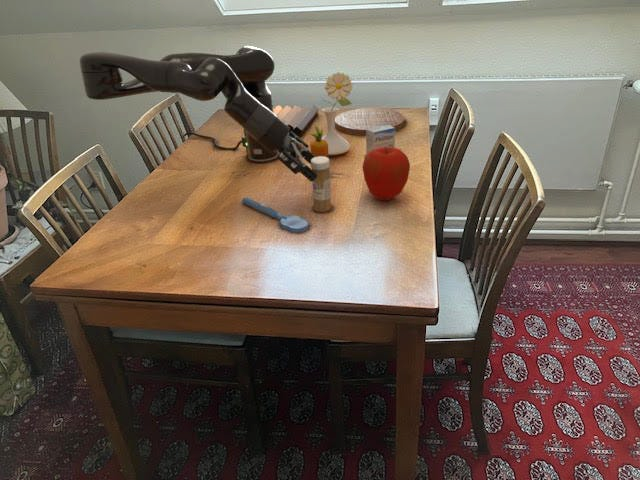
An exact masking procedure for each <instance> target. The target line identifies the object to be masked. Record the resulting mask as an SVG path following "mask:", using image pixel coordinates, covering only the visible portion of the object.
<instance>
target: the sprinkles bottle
mask: <svg viewBox="0 0 640 480" xmlns="http://www.w3.org/2000/svg"><path fill="white" fill-rule="evenodd" d="M330 166H331V164H330V158H329V157H328V158H327V157H323V156H319V157H314V158H312V159H311V164H310V169H312V170H313V171H314V172H315V173H316V174H317V178H316V179H315V180H314V181H312V197H313V210H314V211H315V212H318V213H326V212H328V211H330V210H331V209H332V206H331V204H332V203H331V202H332V201H331V177H330Z"/></svg>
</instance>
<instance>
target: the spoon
mask: <svg viewBox="0 0 640 480" xmlns="http://www.w3.org/2000/svg"><path fill="white" fill-rule="evenodd" d="M241 202H242V204H243V205H246V206H248V207H250V208H252V209H255V210H257V211H258V212H261V213H263V214H265V215H267V216H269V217H271V218H274V219H276V220H278V221H279V222H280V223H279V224H280V227H281V228H282V229H283V230H285V231H289V232H290V233H294V234H300V233H304V232H306V231H307V230H308V229H309V221H307V220H306V219H303V218H302V217H300V216H298V215H287V216H285V215H283V214H281V213H279V211H277V210H275V209H274V208H271V207H269V206H267V205H264V204H262V203H260V202H258V201H256V200H254V199H251V198H249V197H247V196H244V197H242V199H241Z"/></svg>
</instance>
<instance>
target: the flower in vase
mask: <svg viewBox="0 0 640 480" xmlns="http://www.w3.org/2000/svg"><path fill="white" fill-rule="evenodd" d="M353 85H354V83H353V82H352V79H351V77H350V76H349V75H348V74H345V73H344V72H342V73H341V72H339V71H338V72H336V73H333V74H332V75H330V76H328V77H327V79H326V82H325V85H324V90H325V92H326V94H327V97H330V98H331V99H333V100H334V99H335V100H336V101H335V102H334V104H333V103H332V102H330V101H327V100H325V99H324V98H321V100H322V101H323V102H325V103H327V104H330V105H332V106H327V107H324V108H323V109H322V112H323V113H324V114H325V118H326V124H327V132H326V133H325V135H323V136H322V139H324V140H326V142H327V143H328V156H338V155H342V154H345V153H347V152H348V151H349V150H350V149H351V144H350V143H349V142H348V141H347V140H346V139H345V137H342V136H341V135H340V134H338V133H337V131H336V126H335V118H336V117H337V113H338V112H339V110H340V109H339V108H338V107H335V106H336V104H337V103H339V105H340V106H341V107H347V106H350V105H352V104H353V103H352V102H351V101H350V100H349V99H348V98H347V97H349V96H350V95H351V91H352V90H353V89H352V88H353Z"/></svg>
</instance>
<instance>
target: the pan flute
mask: <svg viewBox="0 0 640 480" xmlns="http://www.w3.org/2000/svg"><path fill="white" fill-rule="evenodd" d="M273 111H274V114H275V115H276V116H277V117H278V118H280V119H281V120H282V121H283V122H284V123H285V124H286V125H287V126H289V127H290V131H289V133H290V132H291V131H292V132H293V133H294V134H296V135H297V136H298V137H302V135H303V134H304V133H305V131H306V130H307V128H308V127H309V126H310V124H311V123H312V122H313V121H314V119H315V118H316V117H317V115H318V113H319V108H318V107H317V106H316V105H313V106H311V107H308V106H307V105H303V106H302V107H299V106H298V105H294V106H293V107H291V106H290V105H288V104H286V105H285V106H284V107H282V106H281V105H280V104H278V105H276V106H273ZM289 133H288V134H289Z"/></svg>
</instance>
